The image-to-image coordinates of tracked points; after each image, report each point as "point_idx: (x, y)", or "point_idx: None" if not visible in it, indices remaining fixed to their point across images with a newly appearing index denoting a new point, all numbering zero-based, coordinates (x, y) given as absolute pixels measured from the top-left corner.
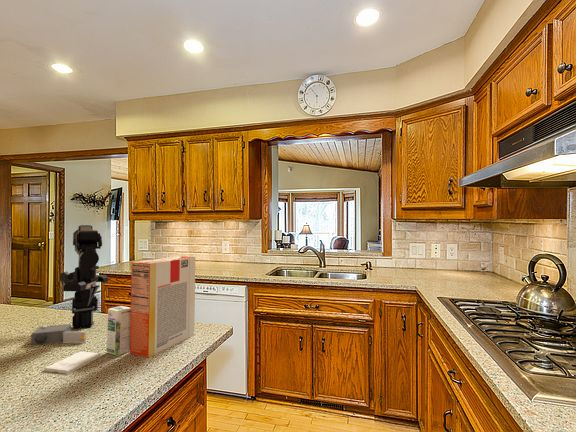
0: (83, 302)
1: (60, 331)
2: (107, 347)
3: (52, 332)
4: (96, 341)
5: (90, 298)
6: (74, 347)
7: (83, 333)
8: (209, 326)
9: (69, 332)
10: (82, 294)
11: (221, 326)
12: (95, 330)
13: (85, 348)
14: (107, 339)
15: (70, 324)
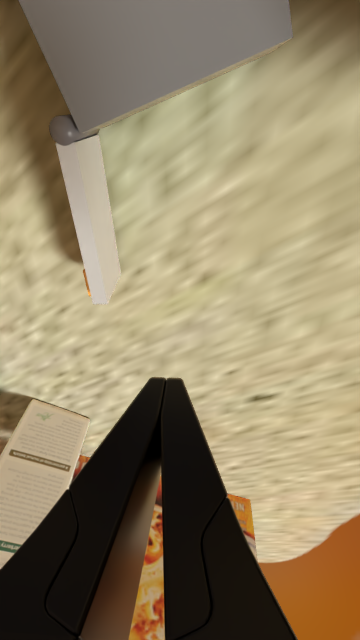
0: (123, 415)
1: (63, 96)
2: (21, 419)
3: (25, 11)
4: (139, 314)
5: (147, 529)
6: (42, 256)
7: (93, 291)
8: (295, 541)
9: (69, 198)
10: (31, 594)
11: (289, 555)
12: (348, 206)
13: (47, 312)
14: (5, 446)
15: (279, 39)
